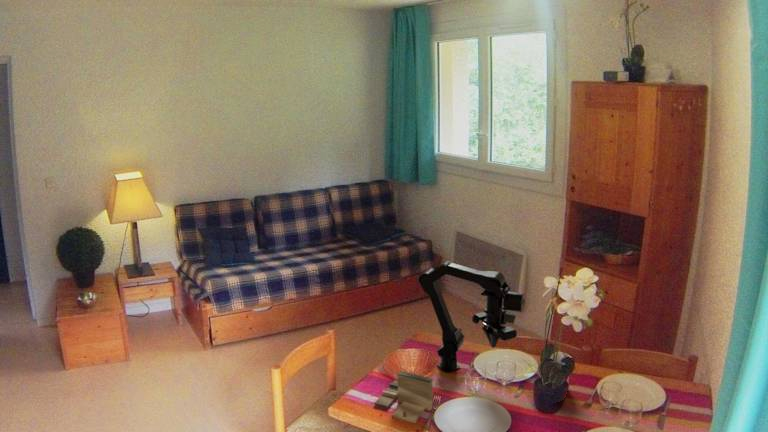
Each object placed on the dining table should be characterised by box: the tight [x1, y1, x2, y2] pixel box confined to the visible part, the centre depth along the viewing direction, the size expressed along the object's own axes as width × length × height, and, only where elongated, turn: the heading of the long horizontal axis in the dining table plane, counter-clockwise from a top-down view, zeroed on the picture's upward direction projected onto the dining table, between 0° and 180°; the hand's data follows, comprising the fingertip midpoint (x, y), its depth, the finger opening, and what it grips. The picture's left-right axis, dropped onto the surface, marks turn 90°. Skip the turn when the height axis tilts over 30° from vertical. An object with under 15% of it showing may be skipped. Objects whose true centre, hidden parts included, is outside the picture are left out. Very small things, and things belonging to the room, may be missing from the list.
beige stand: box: [392, 370, 434, 424], centre depth 202 cm, size 10×12×11 cm
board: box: [374, 380, 398, 410], centre depth 213 cm, size 16×5×2 cm, turn 153°
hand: (493, 347), depth 221 cm, fingers closed
